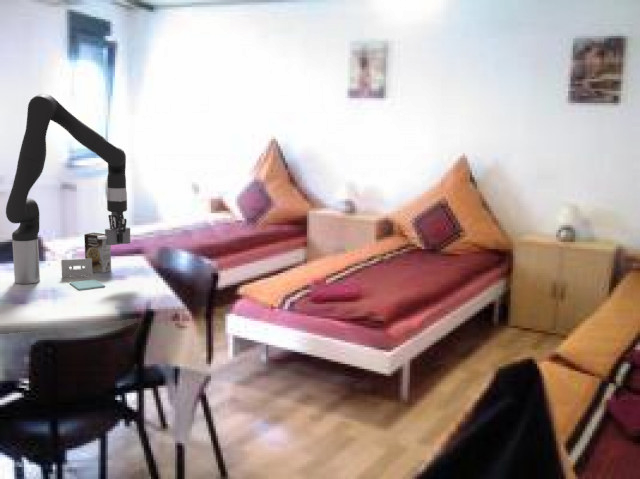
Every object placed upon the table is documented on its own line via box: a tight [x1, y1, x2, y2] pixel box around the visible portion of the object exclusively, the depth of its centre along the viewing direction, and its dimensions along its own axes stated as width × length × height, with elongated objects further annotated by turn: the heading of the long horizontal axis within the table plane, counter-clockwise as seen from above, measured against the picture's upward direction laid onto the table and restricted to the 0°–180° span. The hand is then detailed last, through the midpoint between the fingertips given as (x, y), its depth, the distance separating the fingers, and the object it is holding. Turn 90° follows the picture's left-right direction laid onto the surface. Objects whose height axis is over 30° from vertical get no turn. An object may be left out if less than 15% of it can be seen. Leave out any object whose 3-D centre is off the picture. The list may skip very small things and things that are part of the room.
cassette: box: [60, 258, 94, 279], centre depth 271 cm, size 12×2×8 cm, turn 109°
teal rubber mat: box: [69, 278, 106, 291], centre depth 259 cm, size 12×10×1 cm
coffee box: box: [84, 232, 112, 274], centre depth 283 cm, size 9×6×16 cm
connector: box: [97, 226, 131, 246], centre depth 260 cm, size 4×13×6 cm, turn 127°
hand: (117, 241), depth 261 cm, fingers closed on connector, 4 cm apart
